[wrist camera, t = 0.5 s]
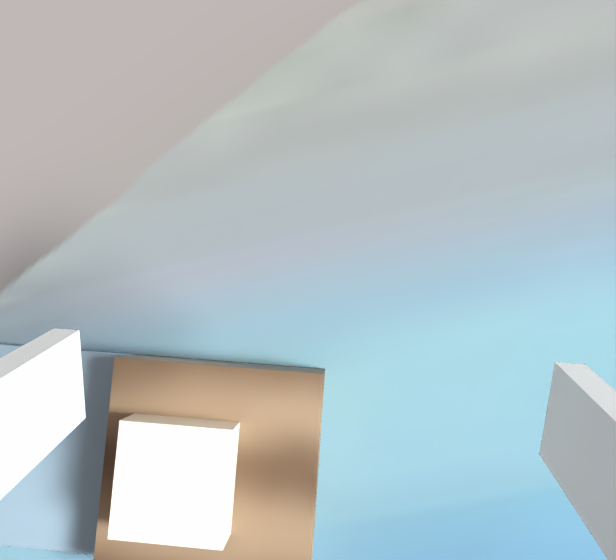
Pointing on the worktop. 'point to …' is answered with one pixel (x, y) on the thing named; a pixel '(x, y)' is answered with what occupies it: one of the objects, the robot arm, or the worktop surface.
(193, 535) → the tile
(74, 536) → the mat
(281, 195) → the worktop surface
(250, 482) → the board
